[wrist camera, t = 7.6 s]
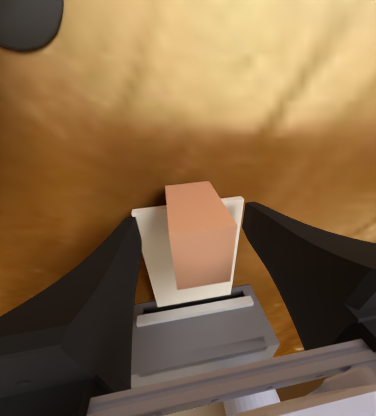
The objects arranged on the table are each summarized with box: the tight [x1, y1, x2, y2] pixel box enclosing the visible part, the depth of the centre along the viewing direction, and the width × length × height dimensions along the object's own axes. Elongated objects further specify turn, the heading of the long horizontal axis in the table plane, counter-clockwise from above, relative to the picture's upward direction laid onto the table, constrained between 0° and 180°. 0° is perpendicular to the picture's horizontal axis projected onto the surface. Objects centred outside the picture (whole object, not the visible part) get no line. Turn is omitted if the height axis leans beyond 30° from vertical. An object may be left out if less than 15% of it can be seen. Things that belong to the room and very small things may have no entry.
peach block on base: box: [131, 181, 244, 307], centre depth 13 cm, size 14×8×5 cm, turn 3°
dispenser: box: [131, 285, 280, 389], centre depth 19 cm, size 9×14×6 cm, turn 93°
